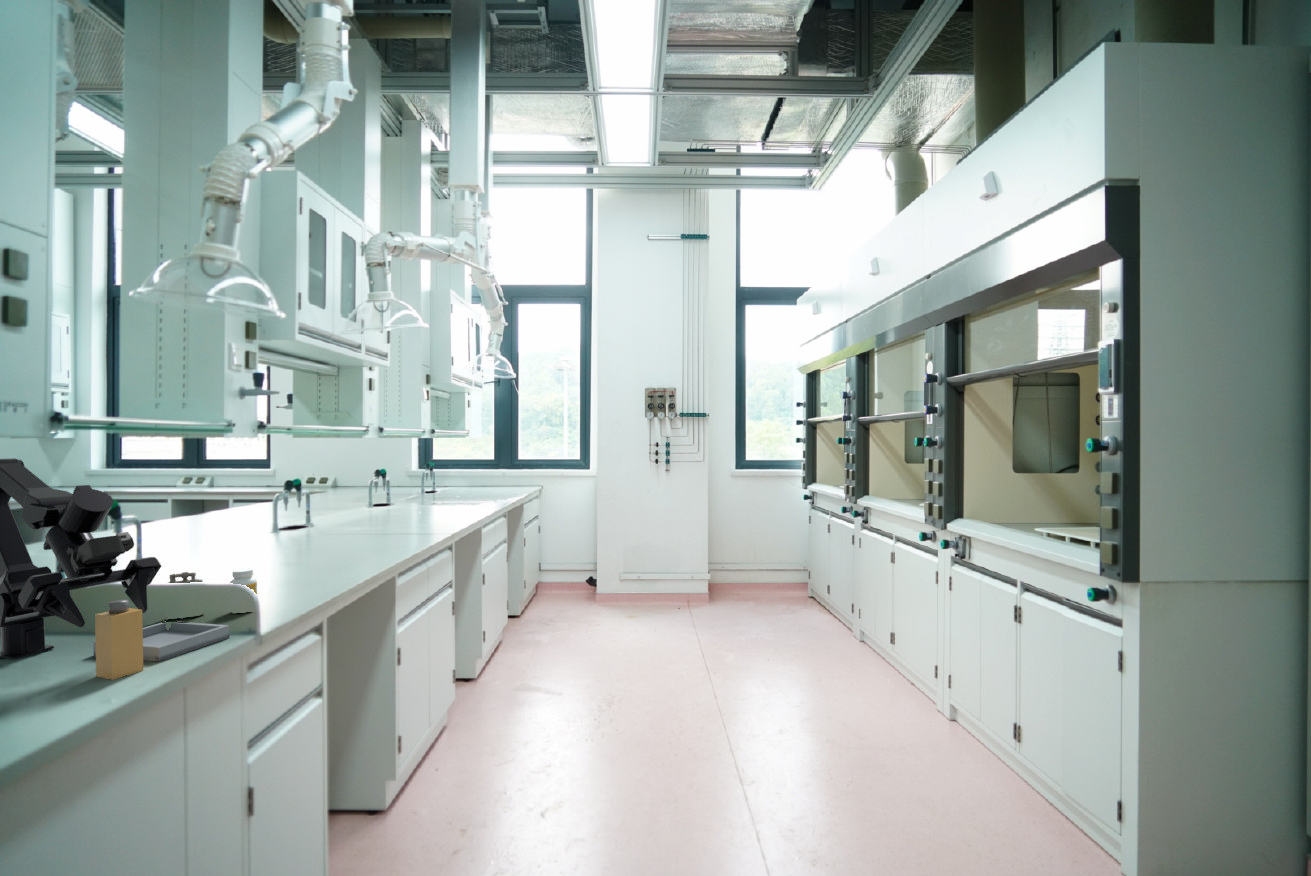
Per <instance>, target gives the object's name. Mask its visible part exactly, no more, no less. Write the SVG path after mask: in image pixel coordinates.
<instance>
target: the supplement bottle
mask: <svg viewBox="0 0 1311 876" xmlns="http://www.w3.org/2000/svg"><path fill="white" fill-rule="evenodd" d="M253 575H254V569H253V568H241V569H236V570H233V571H232V577H233V579H232V580H231V581H230V582H229V584H230V583H233V584H241V585H246V586H247V587H249V588H250V589H253V590H254V592H255V593H256V594H257V595H258V581H257V578H256V577H254V576H253Z"/></svg>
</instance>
